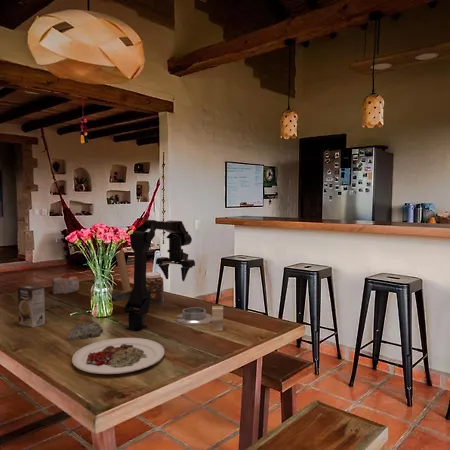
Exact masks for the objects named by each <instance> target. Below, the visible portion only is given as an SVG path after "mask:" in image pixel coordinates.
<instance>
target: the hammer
mask: <svg viewBox="0 0 450 450" xmlns="http://www.w3.org/2000/svg"><path fill="white" fill-rule="evenodd" d="M123 248H124V246H122V248H121V250H120V252H119V253H118V254H117V255H116V254H115V256H116V262H117V266H118V267H117V268H118V271H119V272H118V273H119V276H120V282H121V285H122V289H121V291H119V292H115V293H111V294H112V298H113V299H112V298H111V299H112V300H114V301H122V300H127V299H128V300H129V295H130V292H131V291H132V289H133V287H131V283H130V277H129V272H128V268H127V263H126V258H125V252H124V249H123Z"/></svg>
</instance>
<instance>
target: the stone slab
mask: <svg viewBox="0 0 450 450" xmlns="http://www.w3.org/2000/svg"><path fill="white" fill-rule="evenodd" d="M103 331H104V329H103V327H102V326H101V325H100V324H99V323H97V322H95V321H94V320H91V321H88V322H84V323H81V324H77V325H76V326H73V327H71V328H70V329H69V333H68V334H67V337H65V338H66V341H76V340H75V339H77V340H83V339H88V338H89V337H90V338H91V339H93V338H98V337H101V333H102V332H103ZM79 338H80V339H79Z"/></svg>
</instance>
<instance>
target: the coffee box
mask: <svg viewBox="0 0 450 450" xmlns="http://www.w3.org/2000/svg"><path fill="white" fill-rule="evenodd" d="M17 303H18V305H17V307H18V310H17V311H18V313H17V315H18V325H21V326H24V327H27V328H28V327H29V328H35V327H38V326H42V325H45V322H46V321H45V318H46V317H45V314H46V313H45V286H42V285H35V284H31V283H30V284H25V285H20V286H19V285H18V286H17Z"/></svg>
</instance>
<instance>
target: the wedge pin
mask: <svg viewBox="0 0 450 450" xmlns="http://www.w3.org/2000/svg"><path fill="white" fill-rule="evenodd" d="M211 309H212V310H211V314H212V315H211V316H212V321H211V325H212V326H211V330H212V331H215V332H216V331H217V332H218V331H222V332H223V331H224V305H212V308H211Z"/></svg>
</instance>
